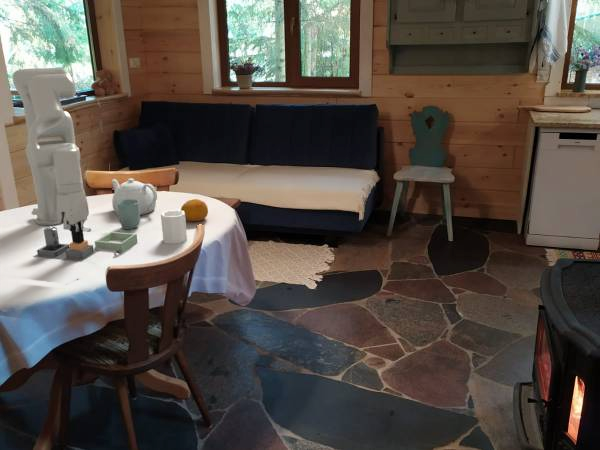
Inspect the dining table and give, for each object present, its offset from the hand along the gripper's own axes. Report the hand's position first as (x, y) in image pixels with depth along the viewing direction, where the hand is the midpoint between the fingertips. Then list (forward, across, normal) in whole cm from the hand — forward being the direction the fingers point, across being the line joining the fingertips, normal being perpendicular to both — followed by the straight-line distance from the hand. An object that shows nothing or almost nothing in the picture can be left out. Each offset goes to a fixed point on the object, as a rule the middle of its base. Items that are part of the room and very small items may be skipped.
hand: (78, 241), depth 182 cm
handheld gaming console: (+6, -17, -17) cm, 25 cm away
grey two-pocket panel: (+6, 0, -5) cm, 8 cm away
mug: (+6, -25, +22) cm, 34 cm away
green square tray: (+6, -12, +6) cm, 15 cm away
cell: (+4, 0, -10) cm, 11 cm away
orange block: (+3, 0, 0) cm, 3 cm away
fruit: (+6, -45, +20) cm, 50 cm away
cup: (+6, -31, 0) cm, 32 cm away
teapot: (+6, -50, -9) cm, 51 cm away
